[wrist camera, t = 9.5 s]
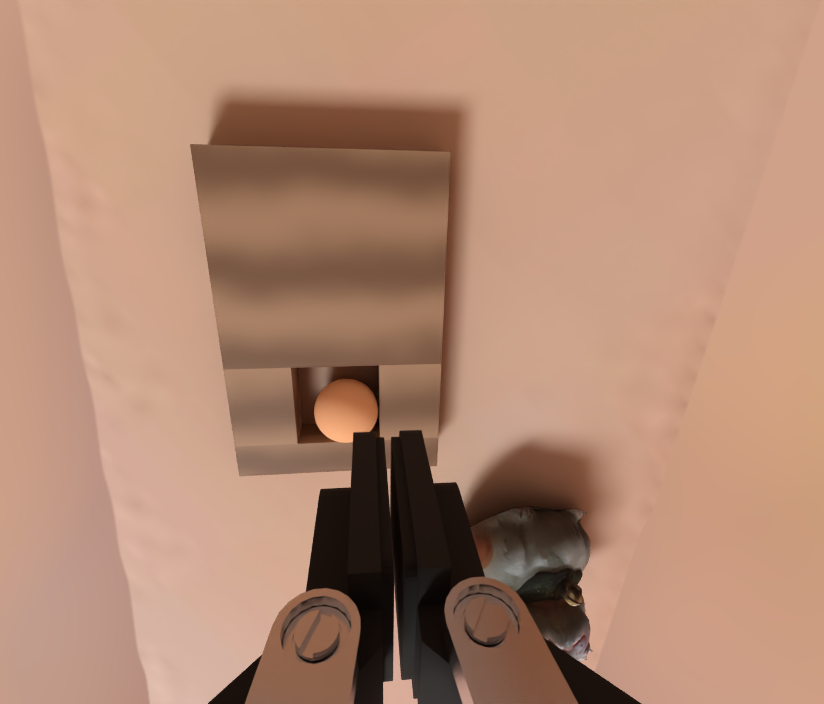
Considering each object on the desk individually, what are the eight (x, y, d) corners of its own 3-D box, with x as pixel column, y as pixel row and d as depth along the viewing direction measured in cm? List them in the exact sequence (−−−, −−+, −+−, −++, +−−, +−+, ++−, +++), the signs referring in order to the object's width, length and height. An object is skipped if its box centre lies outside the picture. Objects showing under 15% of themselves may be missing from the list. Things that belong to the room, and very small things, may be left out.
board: (206, 148, 29) (190, 144, 26) (442, 155, 30) (450, 151, 28) (248, 454, 37) (239, 476, 34) (431, 446, 39) (436, 465, 36)
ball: (304, 449, 32) (303, 387, 31) (326, 422, 37) (327, 367, 36) (368, 458, 32) (370, 395, 30) (382, 430, 36) (385, 374, 35)
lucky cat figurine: (606, 511, 44) (674, 682, 35) (517, 547, 50) (555, 698, 41) (509, 486, 36) (565, 699, 27) (419, 532, 42) (440, 715, 34)
